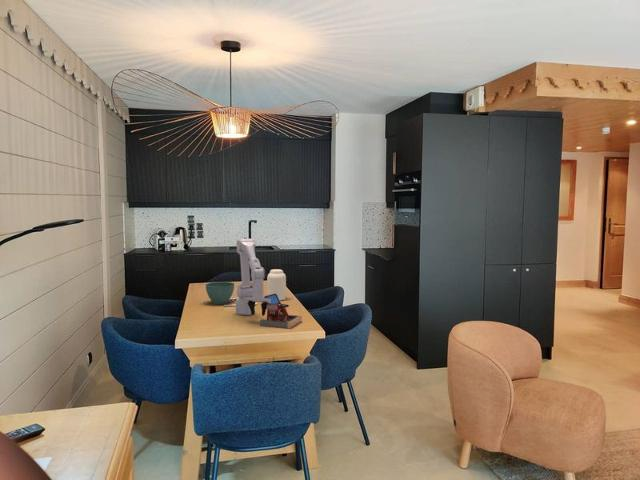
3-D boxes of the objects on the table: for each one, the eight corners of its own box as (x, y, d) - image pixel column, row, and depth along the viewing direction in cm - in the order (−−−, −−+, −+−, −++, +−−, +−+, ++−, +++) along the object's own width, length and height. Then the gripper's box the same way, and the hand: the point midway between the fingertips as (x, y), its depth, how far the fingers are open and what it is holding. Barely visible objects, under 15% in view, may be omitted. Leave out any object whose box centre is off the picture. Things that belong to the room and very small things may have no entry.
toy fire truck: (285, 325, 255) (285, 306, 254) (263, 323, 259) (263, 304, 258) (290, 322, 261) (290, 303, 260) (269, 320, 265) (269, 301, 264)
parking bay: (259, 325, 254) (259, 319, 254) (272, 318, 269) (272, 313, 269) (290, 328, 249) (290, 322, 248) (301, 321, 264) (301, 316, 263)
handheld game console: (277, 310, 291) (277, 298, 291) (263, 308, 297) (263, 296, 297) (289, 306, 302) (289, 294, 301) (275, 304, 308) (275, 293, 307)
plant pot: (237, 304, 306) (237, 285, 305) (208, 306, 299) (208, 287, 298) (231, 299, 323) (231, 281, 322) (203, 301, 316) (203, 282, 315)
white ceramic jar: (265, 300, 318) (265, 270, 317) (269, 297, 330) (269, 268, 329) (283, 301, 316) (283, 271, 315) (287, 297, 329) (287, 268, 327)
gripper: (242, 290, 261) (243, 315, 262) (266, 292, 256) (266, 317, 257) (249, 288, 268) (249, 312, 269) (272, 290, 263) (272, 314, 264)
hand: (258, 315), depth 263 cm, fingers open, 6 cm apart
